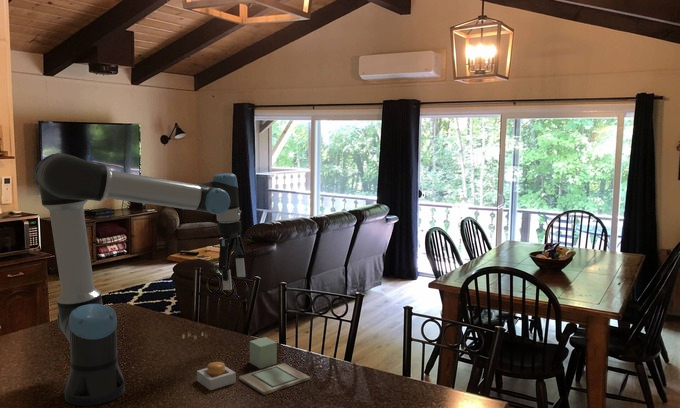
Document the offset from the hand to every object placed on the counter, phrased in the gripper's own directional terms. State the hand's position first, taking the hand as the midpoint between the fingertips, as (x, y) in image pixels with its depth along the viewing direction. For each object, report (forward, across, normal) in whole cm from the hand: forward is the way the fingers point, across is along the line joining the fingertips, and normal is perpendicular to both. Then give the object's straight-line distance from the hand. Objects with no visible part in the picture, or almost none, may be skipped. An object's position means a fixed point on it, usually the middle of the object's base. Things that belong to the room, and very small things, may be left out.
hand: (234, 283), depth 191 cm
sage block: (+21, -15, -12) cm, 29 cm away
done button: (+18, -30, -3) cm, 35 cm away
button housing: (+20, -30, -3) cm, 36 cm away
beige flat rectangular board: (+21, -26, -19) cm, 38 cm away
